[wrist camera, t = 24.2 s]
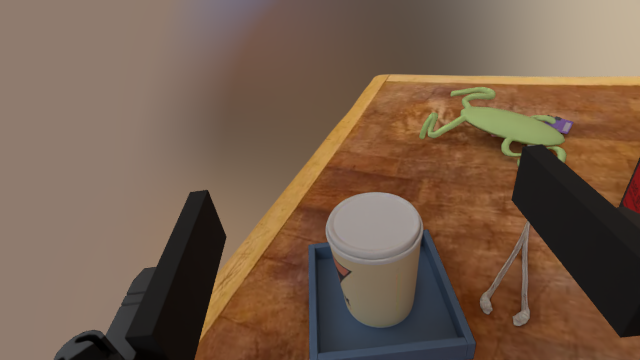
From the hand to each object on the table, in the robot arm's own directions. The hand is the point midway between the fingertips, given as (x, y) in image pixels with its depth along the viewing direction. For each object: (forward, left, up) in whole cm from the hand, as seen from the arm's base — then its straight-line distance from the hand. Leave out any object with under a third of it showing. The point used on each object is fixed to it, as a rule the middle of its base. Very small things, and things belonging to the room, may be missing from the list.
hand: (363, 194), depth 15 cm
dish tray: (+2, +14, -26) cm, 29 cm away
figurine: (+29, +47, -26) cm, 61 cm away
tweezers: (+19, +17, -26) cm, 36 cm away
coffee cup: (+2, +14, -26) cm, 29 cm away
